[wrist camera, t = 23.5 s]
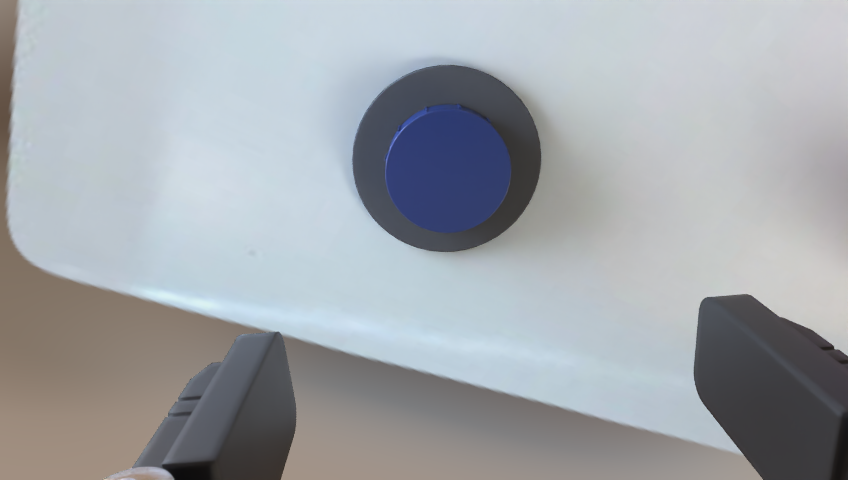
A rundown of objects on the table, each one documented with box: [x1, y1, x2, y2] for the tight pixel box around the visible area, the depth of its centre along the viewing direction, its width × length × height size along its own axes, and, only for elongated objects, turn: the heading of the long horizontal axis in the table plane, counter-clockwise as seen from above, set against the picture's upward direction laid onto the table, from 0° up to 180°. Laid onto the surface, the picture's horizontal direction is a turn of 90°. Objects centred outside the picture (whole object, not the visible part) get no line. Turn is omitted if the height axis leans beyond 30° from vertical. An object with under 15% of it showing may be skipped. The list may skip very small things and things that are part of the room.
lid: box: [385, 104, 511, 233], centre depth 26 cm, size 6×6×2 cm
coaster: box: [352, 65, 541, 252], centre depth 27 cm, size 9×9×1 cm
